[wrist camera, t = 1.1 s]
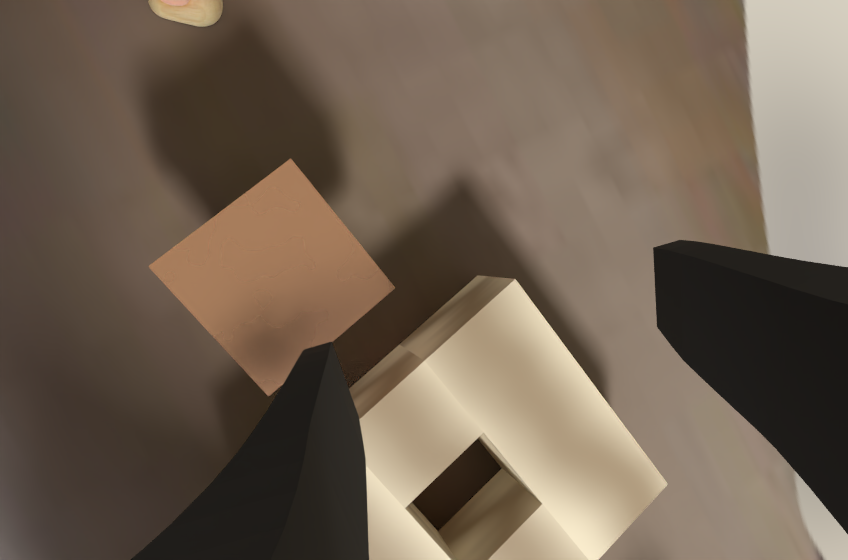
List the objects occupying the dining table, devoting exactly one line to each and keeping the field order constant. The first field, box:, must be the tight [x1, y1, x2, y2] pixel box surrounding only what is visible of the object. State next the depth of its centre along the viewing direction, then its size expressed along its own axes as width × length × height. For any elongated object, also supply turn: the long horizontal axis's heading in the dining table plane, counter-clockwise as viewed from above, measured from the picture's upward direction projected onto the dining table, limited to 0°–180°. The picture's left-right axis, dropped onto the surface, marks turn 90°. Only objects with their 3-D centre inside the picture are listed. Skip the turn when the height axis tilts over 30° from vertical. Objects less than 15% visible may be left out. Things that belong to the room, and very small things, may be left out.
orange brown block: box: [148, 158, 395, 396], centre depth 20 cm, size 5×5×6 cm
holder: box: [349, 275, 668, 560], centre depth 24 cm, size 14×12×4 cm
